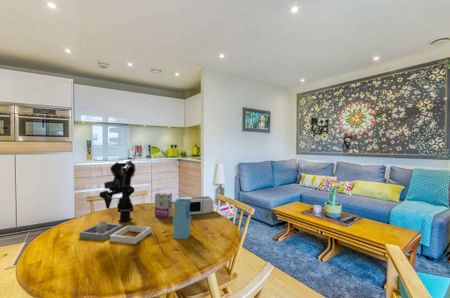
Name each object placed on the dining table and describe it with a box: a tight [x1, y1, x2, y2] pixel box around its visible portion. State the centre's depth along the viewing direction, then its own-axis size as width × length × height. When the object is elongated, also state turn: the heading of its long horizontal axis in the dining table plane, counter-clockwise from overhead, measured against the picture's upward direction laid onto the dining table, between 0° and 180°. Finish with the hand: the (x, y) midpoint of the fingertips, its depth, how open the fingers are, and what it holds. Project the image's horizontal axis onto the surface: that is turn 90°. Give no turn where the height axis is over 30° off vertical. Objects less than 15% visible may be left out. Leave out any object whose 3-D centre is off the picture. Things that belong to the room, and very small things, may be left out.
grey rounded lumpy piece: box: [95, 220, 108, 234], centre depth 123 cm, size 6×7×7 cm
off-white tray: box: [109, 224, 152, 245], centre depth 119 cm, size 15×15×3 cm
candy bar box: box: [154, 192, 173, 219], centre depth 153 cm, size 11×5×16 cm, turn 73°
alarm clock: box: [175, 195, 215, 216], centre depth 161 cm, size 27×9×12 cm, turn 107°
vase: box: [172, 198, 192, 240], centre depth 121 cm, size 8×8×20 cm
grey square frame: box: [79, 222, 123, 241], centre depth 123 cm, size 15×15×3 cm
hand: (114, 206), depth 118 cm, fingers open, 9 cm apart
